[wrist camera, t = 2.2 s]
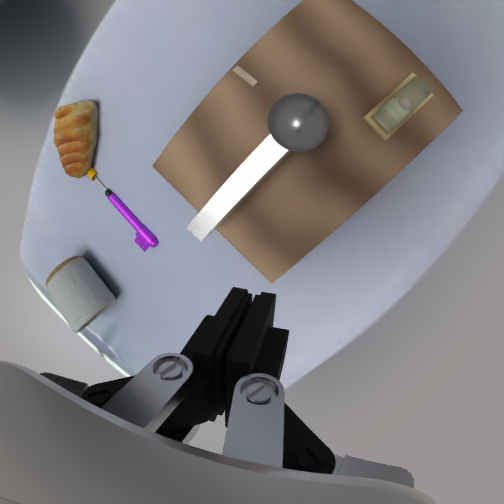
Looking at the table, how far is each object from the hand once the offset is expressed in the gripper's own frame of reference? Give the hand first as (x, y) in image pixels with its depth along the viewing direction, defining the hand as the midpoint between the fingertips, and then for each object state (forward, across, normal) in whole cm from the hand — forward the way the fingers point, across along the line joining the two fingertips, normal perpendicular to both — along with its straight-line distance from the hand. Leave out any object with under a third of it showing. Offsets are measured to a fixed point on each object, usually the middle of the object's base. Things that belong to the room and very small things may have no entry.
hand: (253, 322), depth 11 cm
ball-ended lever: (+14, +3, -5) cm, 15 cm away
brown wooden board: (+17, 0, -8) cm, 19 cm away
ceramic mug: (+17, +27, +13) cm, 35 cm away
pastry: (+17, +26, -8) cm, 32 cm away
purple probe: (+18, +21, 0) cm, 28 cm away
